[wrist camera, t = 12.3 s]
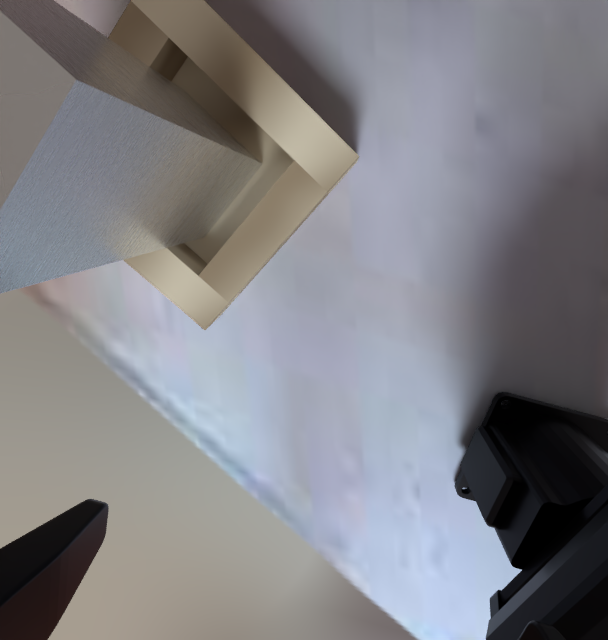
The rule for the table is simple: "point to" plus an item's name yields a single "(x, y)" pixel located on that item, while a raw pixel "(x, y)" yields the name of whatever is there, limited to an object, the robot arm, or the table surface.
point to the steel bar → (99, 151)
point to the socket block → (252, 132)
